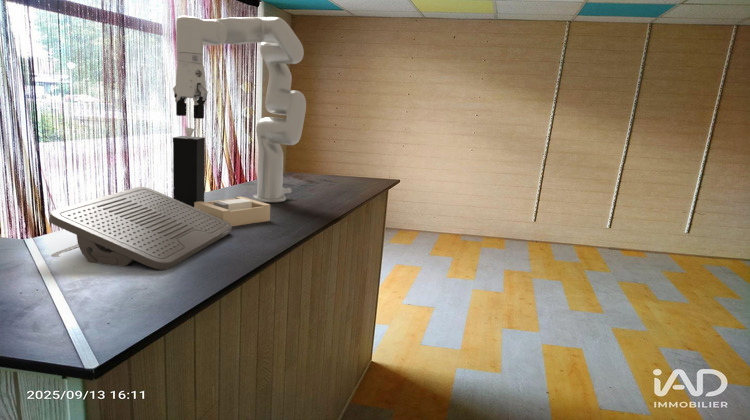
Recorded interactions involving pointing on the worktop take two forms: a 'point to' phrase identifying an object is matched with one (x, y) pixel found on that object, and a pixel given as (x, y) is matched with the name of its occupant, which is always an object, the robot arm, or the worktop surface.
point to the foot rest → (138, 228)
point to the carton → (237, 212)
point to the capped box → (234, 204)
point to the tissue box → (188, 168)
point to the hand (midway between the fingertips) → (189, 117)
